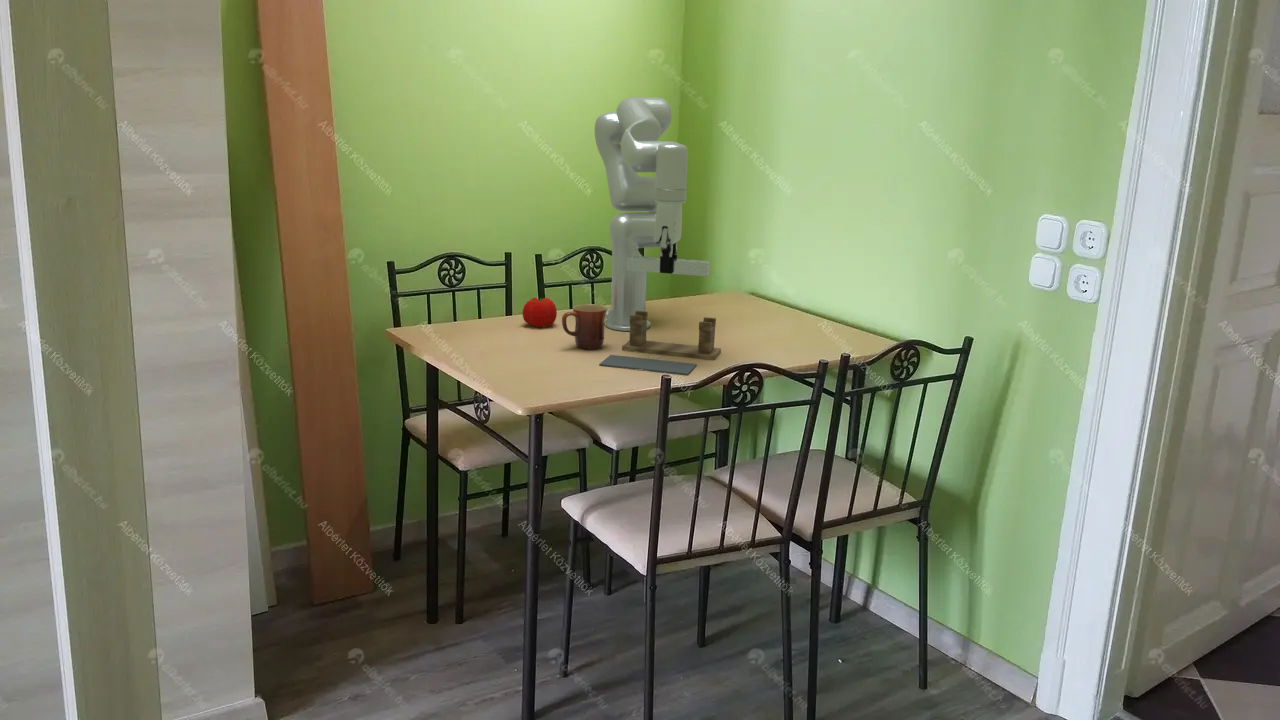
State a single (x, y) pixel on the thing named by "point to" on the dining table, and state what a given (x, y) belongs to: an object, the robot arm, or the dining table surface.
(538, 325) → the tomato
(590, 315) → the mug
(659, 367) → the mat
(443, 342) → the dining table surface
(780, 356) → the dining table surface
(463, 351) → the dining table surface
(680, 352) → the rack
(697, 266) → the rail
